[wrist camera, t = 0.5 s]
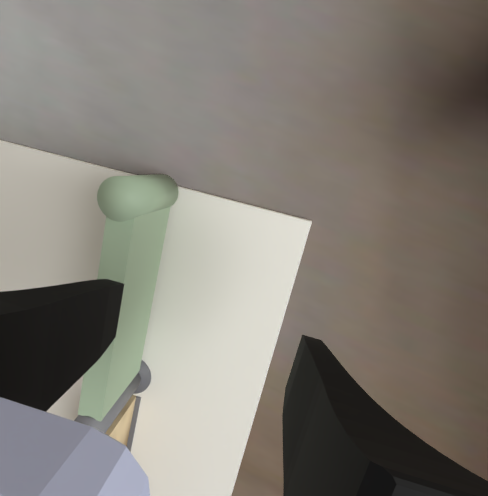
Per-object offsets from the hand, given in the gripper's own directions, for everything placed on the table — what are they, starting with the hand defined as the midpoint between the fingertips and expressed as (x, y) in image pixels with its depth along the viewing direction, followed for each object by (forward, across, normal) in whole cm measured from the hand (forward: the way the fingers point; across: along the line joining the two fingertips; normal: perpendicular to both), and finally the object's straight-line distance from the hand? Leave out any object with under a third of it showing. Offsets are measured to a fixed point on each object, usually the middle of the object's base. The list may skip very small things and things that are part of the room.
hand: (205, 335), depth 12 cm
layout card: (+8, +7, +8) cm, 13 cm away
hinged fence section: (+8, +5, +3) cm, 9 cm away
